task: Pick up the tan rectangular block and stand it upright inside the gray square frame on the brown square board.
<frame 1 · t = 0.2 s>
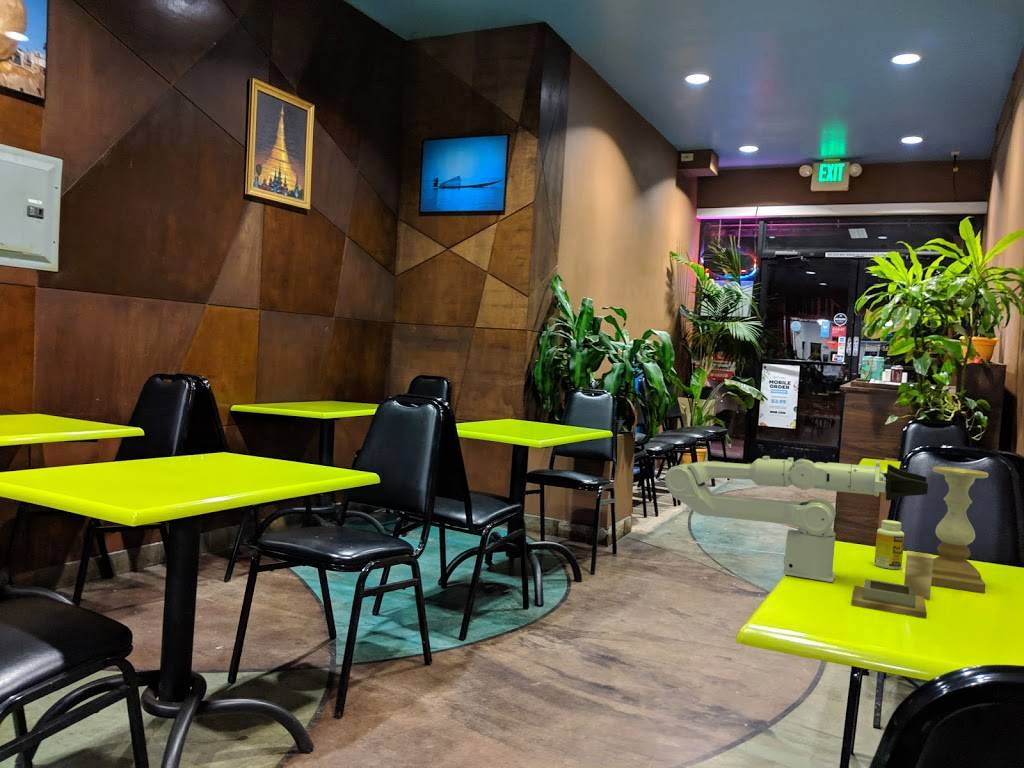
hand: (926, 485, 154), 21 cm above the table, tool horizontal, fingers open, 7 cm apart
gray square frame: (889, 592, 145), on the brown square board, point 1 cm above the table
supplement bottle: (887, 567, 177), on the table
candle holder: (951, 584, 166), on the table
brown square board: (888, 603, 145), on the table
tan rectangular block: (916, 595, 153), on the table
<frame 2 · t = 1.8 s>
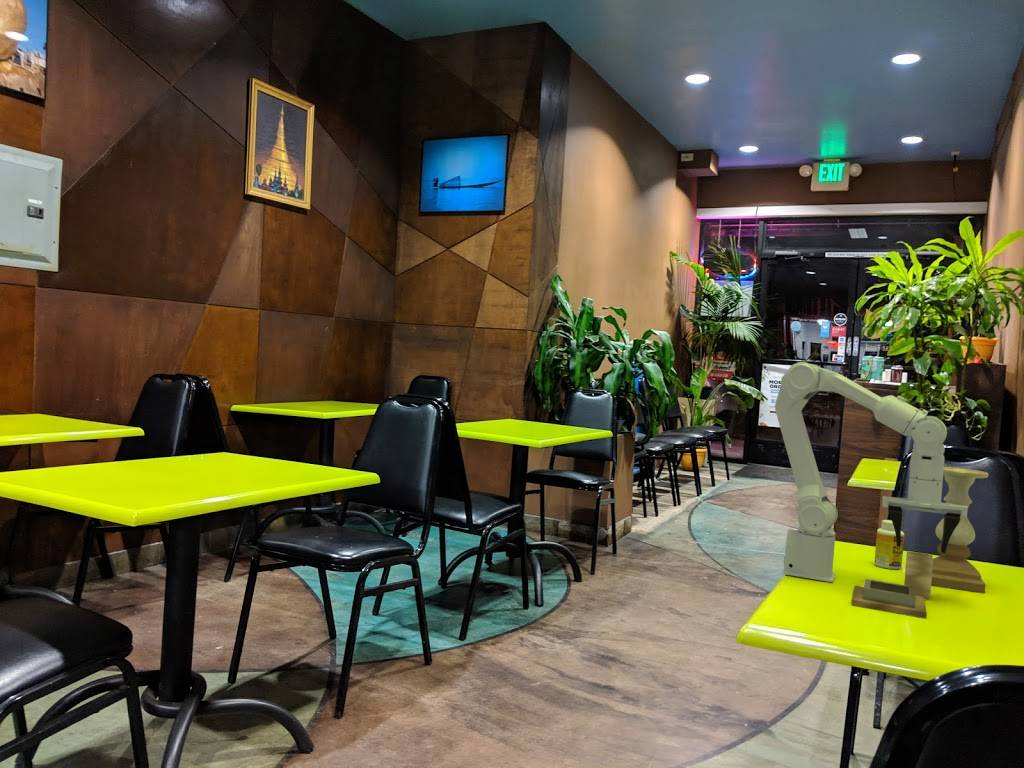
hand: (920, 548, 153), 9 cm above the table, tool pointing down, fingers open, 7 cm apart
nothing on the table moved.
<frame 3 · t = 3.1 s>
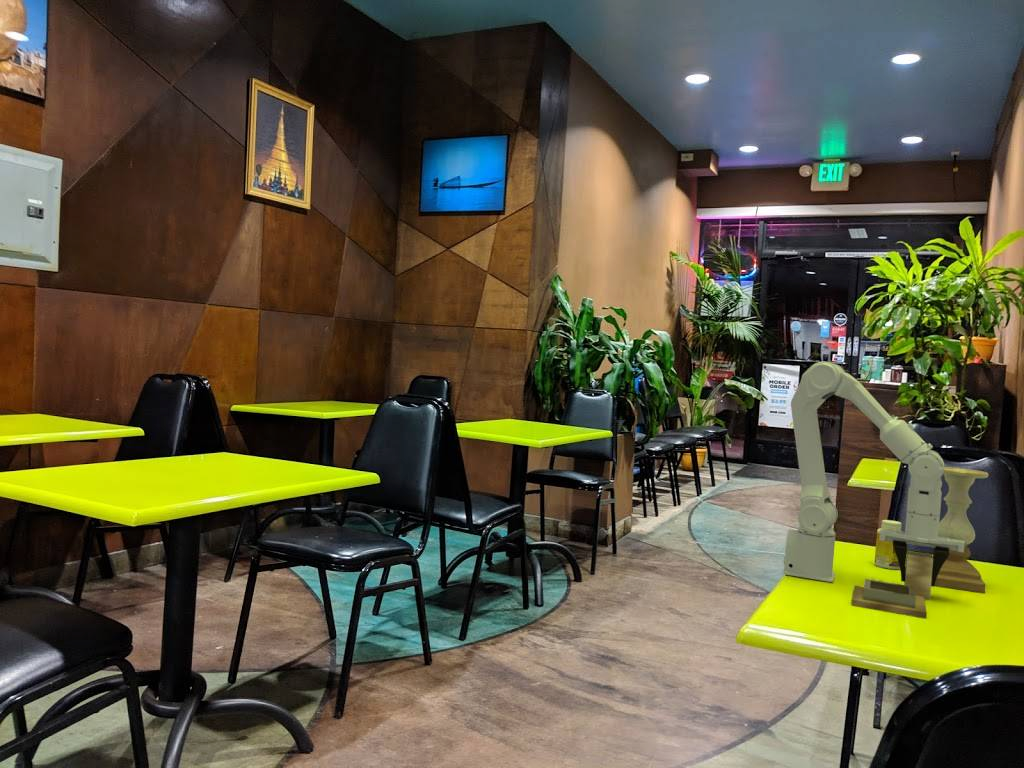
hand: (917, 582, 153), 2 cm above the table, tool pointing down, fingers closed on tan rectangular block, 4 cm apart
tan rectangular block: (916, 595, 153), on the table, touching gripper
everything else where it was.
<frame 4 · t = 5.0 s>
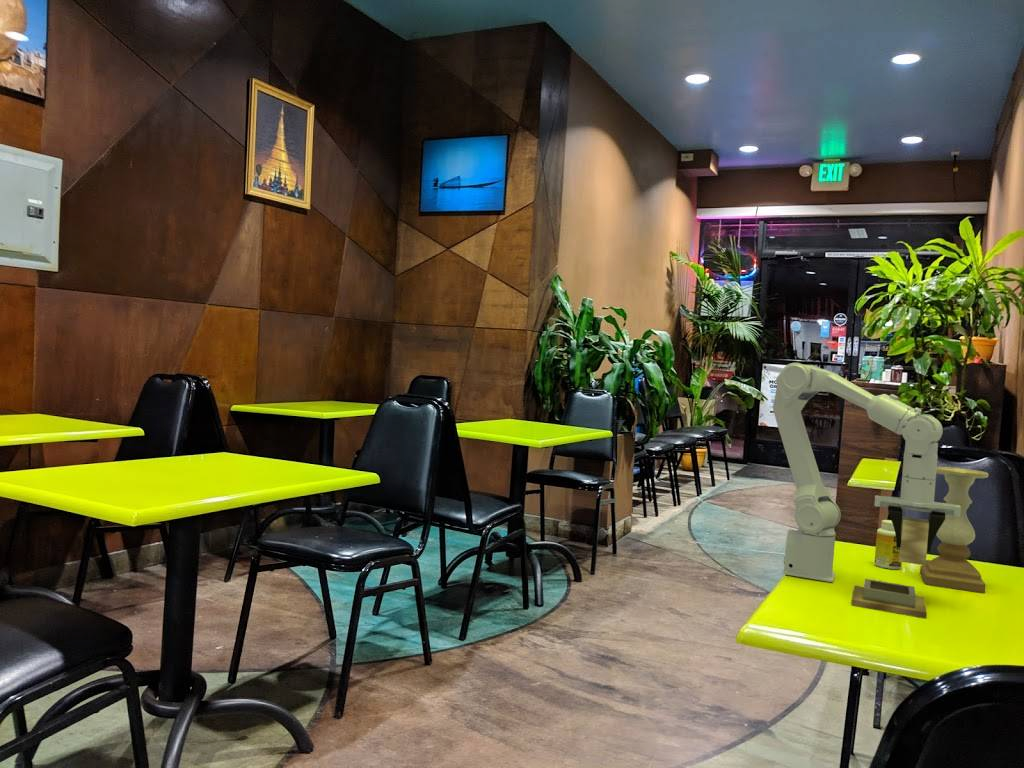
hand: (912, 548, 151), 9 cm above the table, tool pointing down, fingers closed on tan rectangular block, 4 cm apart
tan rectangular block: (912, 561, 151), point 7 cm above the table, touching gripper
everything else where it was.
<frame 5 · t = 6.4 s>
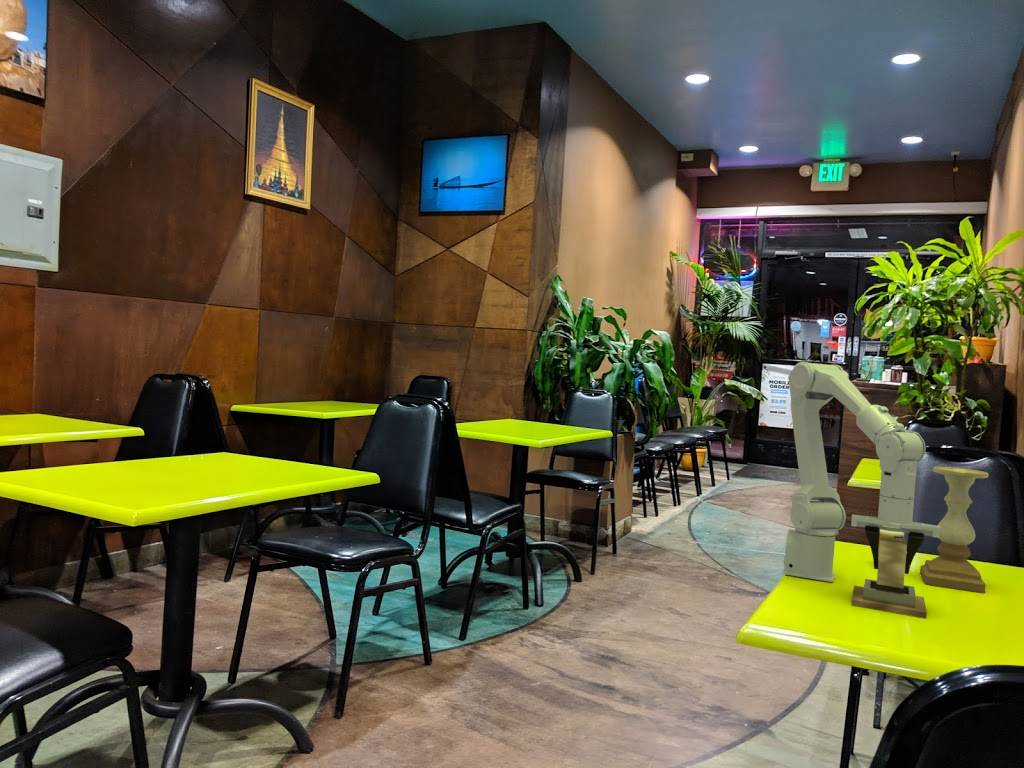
hand: (890, 570, 145), 6 cm above the table, tool pointing down, fingers closed on tan rectangular block, 4 cm apart
tan rectangular block: (889, 583, 145), point 4 cm above the table, touching gripper
everything else where it was.
when the fingers open (4 cm above the table, at t = 7.3 s): tan rectangular block stays where it is, resting on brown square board.
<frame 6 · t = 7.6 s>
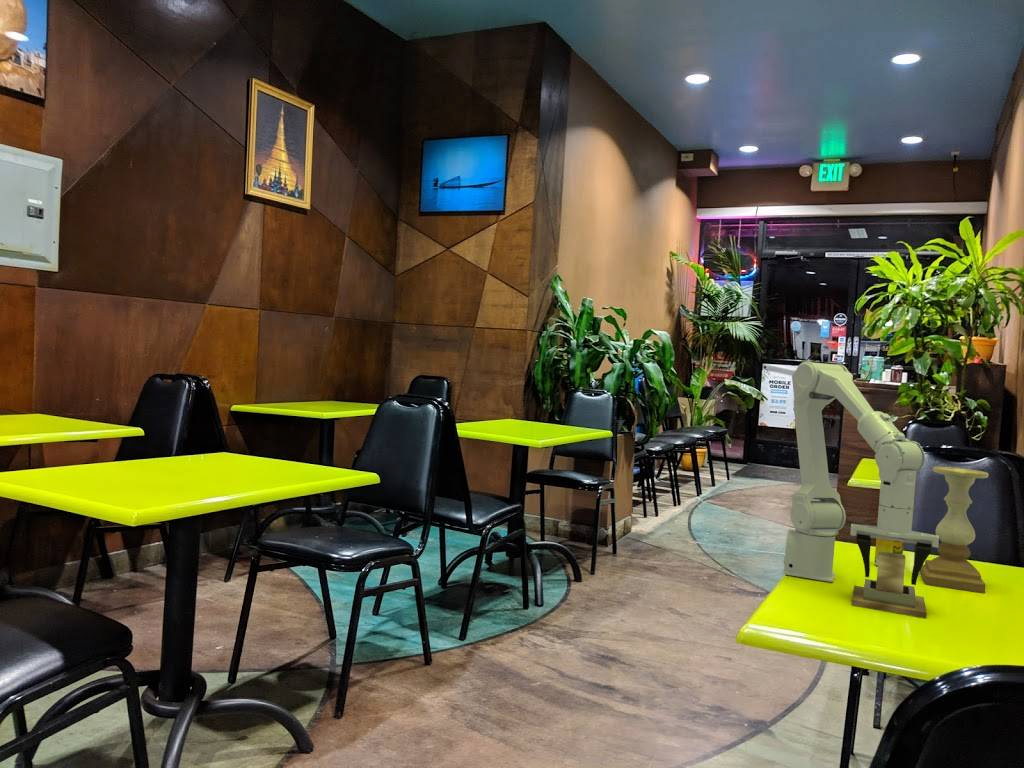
hand: (890, 579, 145), 4 cm above the table, tool pointing down, fingers open, 7 cm apart
tan rectangular block: (888, 598, 145), point 1 cm above the table, touching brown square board
everything else where it was.
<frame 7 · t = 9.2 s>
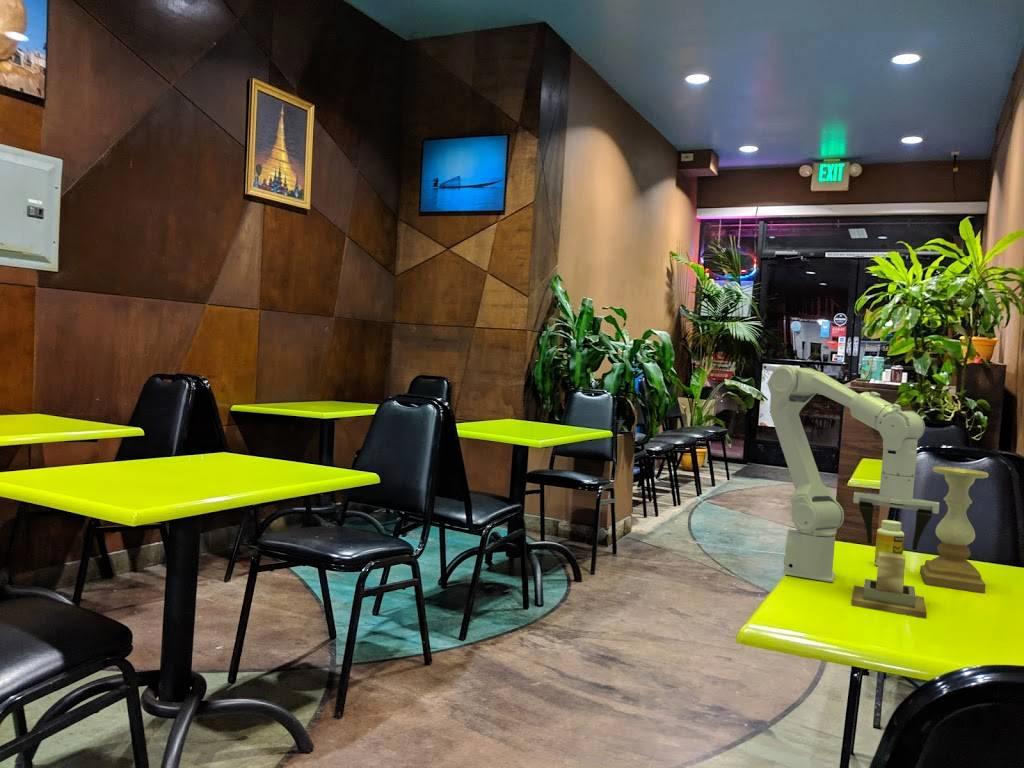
hand: (891, 545, 150), 10 cm above the table, tool pointing down, fingers open, 7 cm apart
nothing on the table moved.
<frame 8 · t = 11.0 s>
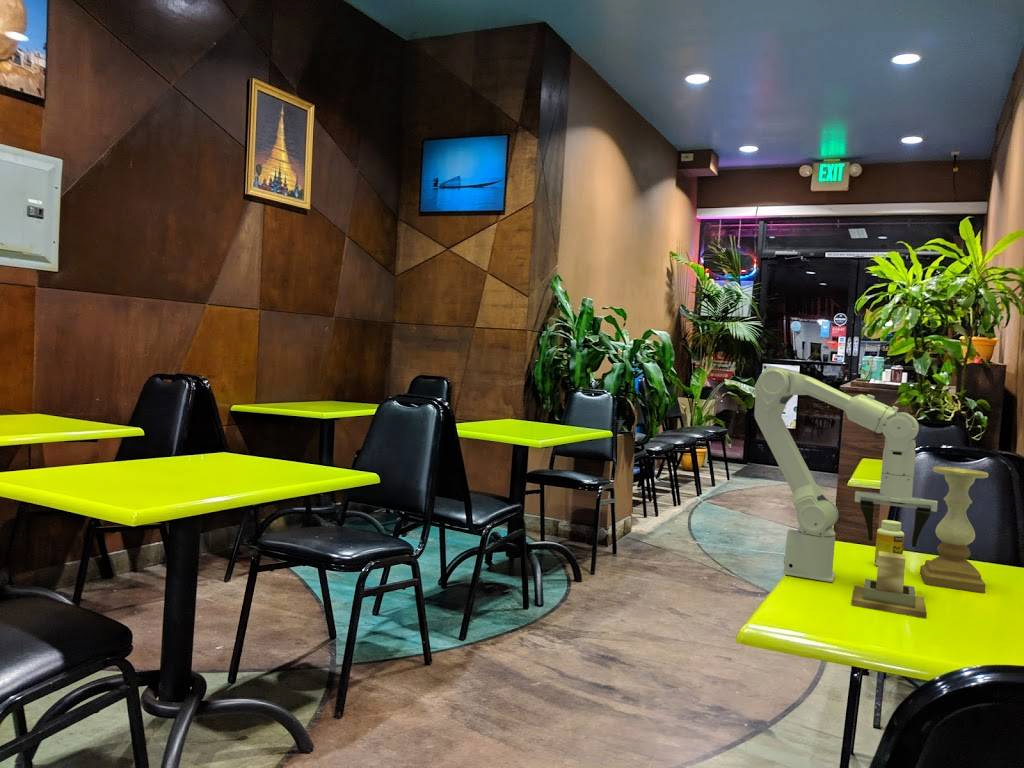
hand: (891, 542, 155), 9 cm above the table, tool pointing down, fingers open, 7 cm apart
nothing on the table moved.
at the end: tan rectangular block 0.1 cm off-centre on the gray square frame, point 1.0 cm above the gray square frame's base; tan rectangular block tilted 0°; the gripper is holding nothing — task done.
